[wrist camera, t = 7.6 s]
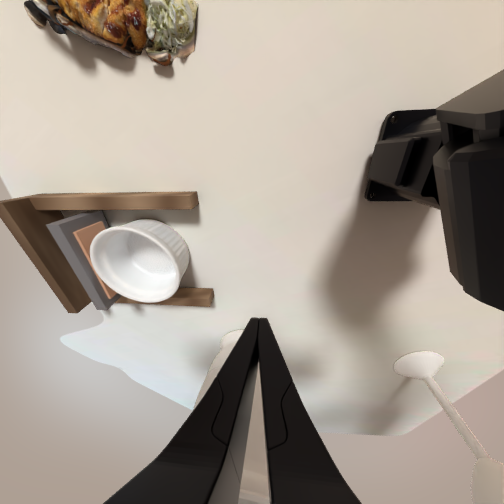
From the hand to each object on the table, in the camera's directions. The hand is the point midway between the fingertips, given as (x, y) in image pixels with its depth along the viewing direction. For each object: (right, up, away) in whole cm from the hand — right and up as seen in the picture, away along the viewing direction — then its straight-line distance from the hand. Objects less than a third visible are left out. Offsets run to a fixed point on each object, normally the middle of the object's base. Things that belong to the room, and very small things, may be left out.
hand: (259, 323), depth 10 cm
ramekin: (-12, +4, +12) cm, 17 cm away
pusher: (-17, +4, +12) cm, 21 cm away
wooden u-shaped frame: (-14, +4, +12) cm, 19 cm away
